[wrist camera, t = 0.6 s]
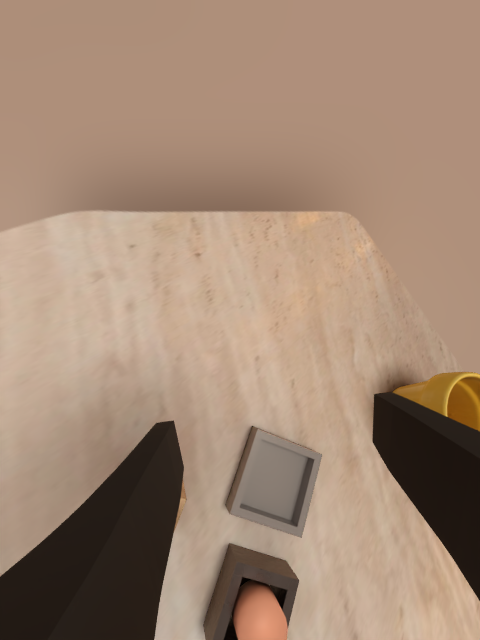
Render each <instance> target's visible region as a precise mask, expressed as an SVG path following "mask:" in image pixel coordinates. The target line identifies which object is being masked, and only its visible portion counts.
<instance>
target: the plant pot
mask: <svg viewBox="0 0 480 640" xmlns="http://www.w3.org/2000/svg"><path fill="white" fill-rule="evenodd" d="M393 393H395V394H398V395H400V396H403V397H405V398H407V399H409V400H412V401H414V402H416V403H418V404H420V405H423V406H425V407H427V408H429V409H431V410H433V411H436V412H438V413H440V414H442V415H444V416H446V417H449V418H451V419H453V420H455V421H458V422H460V423H462V424H464V425H467V426H469V427H471V428H473V429H476V430H478V431H480V374H477V373H473V372H453V373H442V374H438V375H435V376H434V377H432V378H431V379H429V380H428V381H425V382H420V383H416V384H411V385H407V386H402V387H399V388H397V389H395V390H394V391H393Z"/></svg>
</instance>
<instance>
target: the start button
mask: <svg viewBox="0 0 480 640" xmlns="http://www.w3.org/2000/svg"><path fill="white" fill-rule="evenodd" d="M232 620H233V624H234V627H235V631H236V634H237V638H238V640H286V639H287V621H286V617H285V615H284V613H283V611H282V609H281V607H280V605H279V603H278V601H277V599H276V597H275V595H274V593H273V591H272V589H271V588H270V586H269V585H268V584H266V583H263V582H259V581H256V580H250V581H248V582H246V583H245V584H243V585H242V586H241V587H240V589H239V590H238V593H237V596H236V600H235V603H234V607H233V610H232Z"/></svg>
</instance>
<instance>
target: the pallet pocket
mask: <svg viewBox="0 0 480 640" xmlns="http://www.w3.org/2000/svg"><path fill="white" fill-rule="evenodd" d="M321 457H322V454H320V453H318V452H315V451H313V450H311V449H308V448H306V447H303V446H301V445H298V444H296V443H293V442H291V441H288V440H286V439H283V438H281V437H278V436H276V435H273V434H271V433H268V432H265V431H263V430H260V429H258V428H255V427H253V426H252V429H251V431H250V434H249V437H248V440H247V443H246V446H245V449H244V452H243V455H242V458H241V461H240V464H239V467H238V470H237V473H236V476H235V479H234V482H233V485H232V488H231V491H230V493H229V496H228V499H227V502H226V507H227V509H228V511H229V513H230V514H231V515H234V516H237V517H240V518H243V519H246V520H249V521H252V522H255V523H258V524H261V525H265V526H268V527H271V528H274V529H277V530H280V531H283V532H286V533H289V534H292V535H295V536H298V537H301V538H302V534H303V530H304V526H305V522H306V518H307V514H308V510H309V506H310V502H311V498H312V494H313V490H314V486H315V482H316V478H317V474H318V470H319V465H320V461H321Z"/></svg>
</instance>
